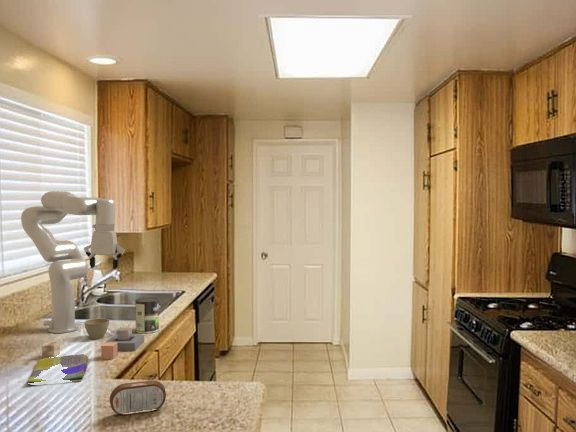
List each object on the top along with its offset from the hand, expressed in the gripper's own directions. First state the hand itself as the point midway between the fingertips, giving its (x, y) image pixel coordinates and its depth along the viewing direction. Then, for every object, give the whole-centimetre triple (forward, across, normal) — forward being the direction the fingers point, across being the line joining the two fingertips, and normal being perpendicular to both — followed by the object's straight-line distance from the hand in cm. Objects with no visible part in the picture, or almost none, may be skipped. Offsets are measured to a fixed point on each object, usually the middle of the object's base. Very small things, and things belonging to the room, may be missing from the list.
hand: (103, 268), depth 214 cm
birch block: (+30, -8, -27) cm, 41 cm away
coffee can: (+30, +16, +11) cm, 35 cm away
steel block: (+28, +14, -13) cm, 34 cm away
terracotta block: (+29, +14, -27) cm, 42 cm away
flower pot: (+30, -2, -1) cm, 30 cm away
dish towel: (+30, +3, -43) cm, 53 cm away
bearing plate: (+29, +14, -13) cm, 35 cm away
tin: (+27, +40, -75) cm, 89 cm away
